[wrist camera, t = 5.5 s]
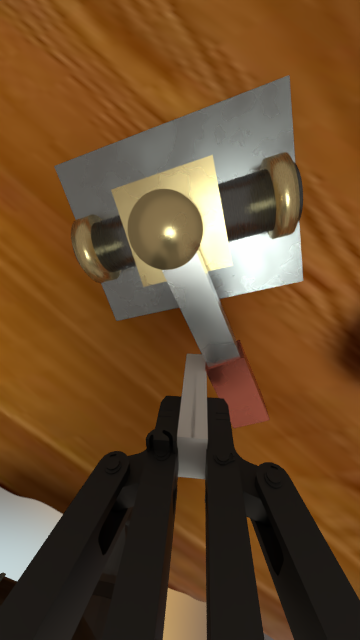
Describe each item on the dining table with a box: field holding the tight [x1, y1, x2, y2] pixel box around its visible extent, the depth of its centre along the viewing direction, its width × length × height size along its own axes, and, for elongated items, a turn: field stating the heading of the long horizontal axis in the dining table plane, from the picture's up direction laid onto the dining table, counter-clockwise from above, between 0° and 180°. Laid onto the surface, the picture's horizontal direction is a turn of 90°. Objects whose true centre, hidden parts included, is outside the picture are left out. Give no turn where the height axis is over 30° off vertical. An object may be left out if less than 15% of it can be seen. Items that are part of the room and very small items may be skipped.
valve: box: [54, 76, 303, 321], centre depth 17 cm, size 18×14×7 cm
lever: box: [128, 189, 270, 428], centre depth 14 cm, size 15×4×3 cm, turn 25°
